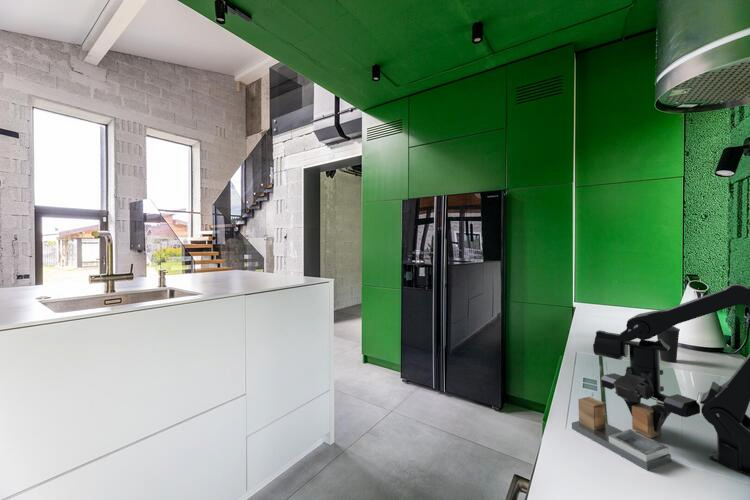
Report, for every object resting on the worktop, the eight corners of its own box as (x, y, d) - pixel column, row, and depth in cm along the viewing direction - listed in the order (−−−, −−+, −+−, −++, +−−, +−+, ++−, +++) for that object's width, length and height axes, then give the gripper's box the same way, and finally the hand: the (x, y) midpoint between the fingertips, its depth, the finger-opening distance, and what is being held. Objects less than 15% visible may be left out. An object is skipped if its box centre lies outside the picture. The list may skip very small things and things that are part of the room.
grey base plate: (593, 422, 84) (593, 411, 84) (671, 461, 68) (670, 447, 68) (571, 428, 81) (571, 416, 81) (647, 470, 65) (646, 456, 65)
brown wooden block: (589, 419, 83) (589, 396, 83) (606, 427, 79) (605, 403, 79) (579, 422, 81) (578, 399, 82) (595, 430, 77) (594, 406, 78)
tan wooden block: (642, 426, 81) (641, 403, 81) (661, 434, 77) (660, 410, 77) (631, 429, 79) (630, 406, 80) (649, 438, 76) (649, 413, 76)
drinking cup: (651, 358, 133) (650, 311, 133) (663, 356, 135) (662, 310, 136) (673, 364, 126) (671, 315, 126) (685, 362, 128) (684, 313, 128)
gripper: (585, 357, 85) (587, 415, 84) (669, 383, 67) (672, 456, 67) (613, 352, 88) (615, 407, 88) (700, 376, 71) (702, 445, 71)
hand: (646, 426), depth 78 cm, fingers closed on tan wooden block, 4 cm apart
